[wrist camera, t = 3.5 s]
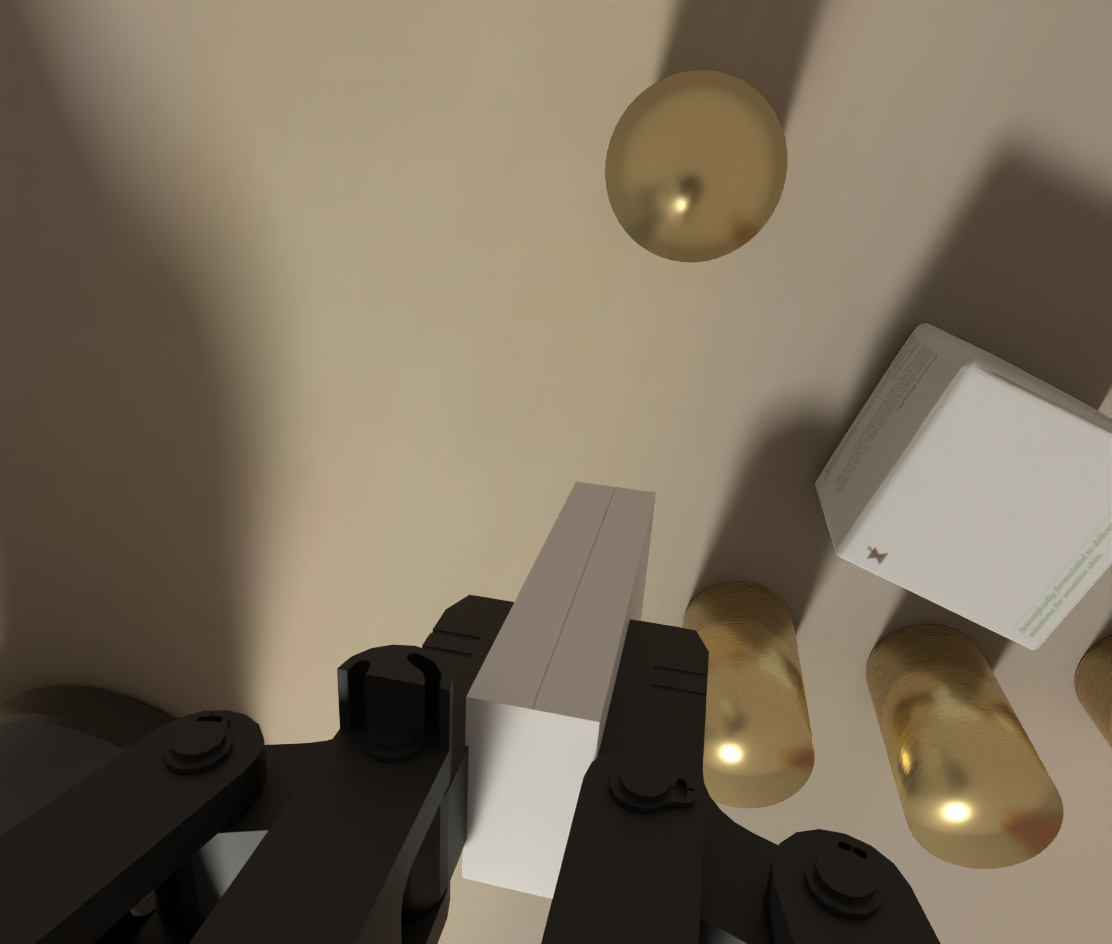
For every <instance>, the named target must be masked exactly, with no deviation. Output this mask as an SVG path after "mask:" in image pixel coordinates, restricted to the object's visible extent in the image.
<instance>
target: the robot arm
mask: <svg viewBox="0 0 1112 944" xmlns="http://www.w3.org/2000/svg"><path fill="white" fill-rule="evenodd" d="M655 495H656V493H655V492H648V491H640V490H633V489H626V488H618V487H611V486H604V485H597V484H589V483H582V482H576V483H575V485H574V487H573V489H572V491H571V492H570V494H569V496H568V498H567V500H566V502H565V504H564V506H563V508H562V510H561V512H560V514H559V516H558V518H557V520H556V522H555V524H554V526H553V528H552V530H551V532H550V534H549V536H548V538H547V540H546V541H545V543H544V545H543V547H542V549H541V551H540V553H539V555H538V557H537V559H536V561H535V563H534V565H533V567H532V569H531V571H530V573H529V575H528V577H527V579H526V581H525V583H524V585H523V587H522V588H521V590H520V592H519V594H518V596H517V598H516V600H515V602H510V601H504V600H498V599H492V598H486V597H480V596H474V595H468V596H467V597H465V598H464V599H462V600H460V601H459V602H457V603H456V604H454V605H452V606H451V607H449V608H448V609H446V610H445V612H444V613H443V615H442V616H441V618H440V619H439V621H438V622H437V624H436V625H435V627H434V628H433V632H432V633H430V634H429V636H428V638H427V639H426V641H425V642H424V644H423V645H422V648H420V647H417V646H407V645H388V646H382V647H376V648H371V649H368V650H366V651H364V652H361V653H359V654H357V655H354V656H352V657H350V658H349V659H348V660H347V661H346V662H345V663H343V664H342V665H341V666H340V667H339V668H337V675H338V695H339V714H340V729H339V731H338V732H337V734H336V735H335V737H334V738H333V739H331V740H327V741H321V742H313V743H302V744H280V745H264V738H263V735H262V732H261V729H260V726H259V724H257V723H256V722H255V721H253V720H252V719H251V718H249V717H248V716H247V715H244V714H240V713H236V712H232V711H228V710H221V711H202V712H199V713H195V714H191V715H188V716H184V717H180V718H178V719H176V720H173V719H172V718H170V717H168V716H166V715H164V714H163V713H161V712H159V711H157V710H155V709H153V708H151V707H149V706H147V705H144V704H142V703H140V702H137V701H135V700H132V699H129V698H127V697H124V696H121V695H117V694H114V693H111V692H106V691H102V690H97V689H91V688H84V687H65V686H63V687H50V688H43V689H38V690H34V691H31V692H28V693H25V694H22V695H20V696H18V697H16V698H14V699H12V700H11V701H9V702H7V703H6V704H4V705H3V706H2V707H0V944H437V943H438V941H439V938H440V936H441V933H442V930H443V928H444V925H445V922H446V920H447V916H448V909H449V903H450V880H451V877H452V875H453V872H454V870H455V867H456V865H457V862H458V860H459V857H460V855H461V852H462V850H463V861H462V878H465V879H469V880H473V881H478V882H482V883H486V884H491V885H495V886H499V887H504V888H508V889H512V890H516V891H521V892H525V893H529V894H534V895H538V896H542V897H547V898H551V899H552V903H551V907H550V911H549V915H548V919H547V923H546V927H545V931H544V935H543V939H542V943H541V944H940V942H939V940H938V938H937V936H936V934H935V932H934V930H933V929H932V927H931V925H930V923H929V921H928V919H927V917H926V915H925V913H924V911H923V909H922V907H921V905H920V903H919V902H918V900H917V898H916V896H915V894H914V892H913V890H912V888H911V886H910V885H909V883H908V882H907V881H906V879H905V878H904V877H903V875H902V874H901V873H900V871H899V870H898V868H897V867H896V866H895V864H894V863H892V862H891V861H890V860H889V859H887V858H886V857H885V856H884V855H882V854H881V853H880V852H878V851H877V850H876V849H875V848H873V847H872V846H871V845H869V844H866V843H864V842H862V841H860V840H858V839H855V838H853V837H851V836H849V835H847V834H844V833H838V832H832V831H827V830H821V829H817V830H810V831H803V832H796V833H795V834H793V835H792V836H790V837H789V838H787V839H786V840H784V841H783V842H781V843H780V844H779V845H777V844H774V843H772V842H770V841H768V840H766V839H764V838H762V837H760V836H758V835H756V834H754V833H752V832H750V831H748V830H747V829H745V828H743V827H742V826H740V825H738V824H737V823H735V822H734V821H733V820H731V819H730V818H729V817H728V816H727V815H726V814H724V813H723V812H722V811H721V810H720V809H719V807H718V806H717V805H716V803H715V802H714V801H713V800H712V798H711V797H710V795H709V793H708V790H707V788H706V786H705V784H704V776H703V757H704V738H705V719H706V700H707V699H706V696H707V681H708V679H707V677H708V662H709V651H708V650H707V648H706V646H705V645H704V643H703V641H702V639H701V638H700V636H699V634H698V633H697V631H696V630H692V629H686V628H680V627H674V626H668V625H662V624H656V623H650V622H644V621H641V614H642V605H643V597H644V588H645V580H646V571H647V563H648V554H649V546H650V538H651V529H652V521H653V512H654V504H655Z"/></svg>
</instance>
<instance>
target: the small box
mask: <svg viewBox="0 0 1112 944" xmlns="http://www.w3.org/2000/svg"><path fill="white" fill-rule="evenodd" d="M815 487H816V490H817V494H818V497H819V500H820V503H821V506H822V510H823V513H824V516H825V519H826V523H827V526H828V529H829V532H830V535H831V538H832V542H833V545H834V548H835V551H836V554H837V555H838V556H839V557H841V558H843V559H845V560H847V561H849V562H851V563H853V564H855V565H857V566H859V567H861V568H863V569H865V570H867V571H869V572H871V573H874V574H876V575H878V576H880V577H881V578H884V579H886V580H888V581H890V582H892V583H894V584H896V585H898V586H900V587H902V588H904V589H907V590H909V591H911V592H913V593H915V594H917V595H919V596H921V597H923V598H926V599H928V600H930V601H932V602H934V603H936V604H938V605H940V606H942V607H944V608H946V609H948V610H950V611H952V612H955V613H957V614H959V615H961V616H963V617H965V618H967V619H969V620H971V621H973V622H975V623H977V624H979V625H981V626H983V627H985V628H987V629H989V630H991V631H993V632H995V633H998V634H1000V635H1002V636H1004V637H1006V638H1009V639H1010V640H1012V641H1014V642H1016V643H1019V644H1021V645H1023V646H1025V647H1027V648H1028V649H1030V650H1036V649H1038V648H1039V647H1040V646H1041V645H1042V644H1043V642H1044V641H1045V640H1046V639H1047V638H1048V636H1049V635H1050V634H1051V633H1052V632H1053V631H1054V630H1055V629H1056V627H1057V626H1058V625H1059V624H1060V623H1061V622H1062V620H1063V619H1064V618H1065V617H1066V616H1067V615H1068V613H1069V612H1070V611H1071V610H1072V609H1073V608H1074V607H1075V606H1076V605H1077V603H1078V602H1079V601H1080V600H1081V599H1082V598H1083V596H1084V595H1085V594H1086V593H1087V592H1088V590H1089V589H1090V588H1091V587H1092V586H1093V585H1094V583H1095V582H1096V581H1097V580H1098V579H1099V578H1100V577H1101V576H1102V574H1103V573H1104V572H1105V571H1106V570H1107V569H1108V567H1109V566H1110V565H1111V564H1112V419H1111V418H1109V417H1107V416H1106V415H1104V414H1103V413H1101V412H1100V411H1098V410H1096V409H1094V408H1093V407H1091V406H1089V405H1087V404H1085V403H1083V402H1081V401H1080V400H1078V399H1076V398H1074V397H1072V396H1070V395H1068V394H1067V393H1065V392H1063V391H1061V390H1059V389H1057V388H1055V387H1054V386H1052V385H1050V384H1048V383H1046V382H1044V381H1042V380H1040V379H1038V378H1037V377H1035V376H1033V375H1031V374H1029V373H1027V372H1025V371H1023V370H1021V369H1019V368H1017V367H1016V366H1014V365H1012V364H1010V363H1008V362H1006V361H1004V360H1002V359H1000V358H998V357H996V356H994V355H992V354H991V353H989V352H987V351H985V350H983V349H981V348H979V347H977V346H974V345H972V344H970V343H968V342H966V341H964V340H962V339H960V338H958V337H956V336H954V335H952V334H949V333H947V332H945V331H943V330H941V329H939V328H937V327H935V326H933V325H931V324H928V323H922V324H920V325H918V326H917V327H916V328H915V329H914V331H913V332H912V334H911V335H910V337H909V338H908V339H907V341H906V342H905V344H904V345H903V347H902V348H901V350H900V351H899V353H898V354H897V356H896V357H895V359H894V360H893V362H892V363H891V365H890V366H889V368H888V370H887V371H886V373H885V374H884V376H883V377H882V379H881V380H880V382H879V384H878V385H877V387H876V388H875V390H874V391H873V393H872V394H871V396H870V397H869V399H868V401H867V402H866V404H865V405H864V407H863V408H862V410H861V411H860V413H859V414H858V416H857V417H856V419H855V421H854V422H853V424H852V425H851V427H850V428H849V430H848V431H847V433H846V434H845V436H844V438H843V439H842V441H841V442H840V444H839V445H838V447H837V448H836V450H835V452H834V453H833V455H832V456H831V458H830V459H829V461H828V463H827V464H826V466H825V467H824V469H823V471H822V472H821V474H820V475H819V477H818V479H817V480H816V482H815Z"/></svg>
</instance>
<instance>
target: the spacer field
mask: <svg viewBox="0 0 1112 944" xmlns="http://www.w3.org/2000/svg"><path fill="white" fill-rule="evenodd" d="M786 172H787V147H786V141H785V136H784V133H783V130H782V126H781V124H780V122H779V119H778V117H777V115H776V113H775V112H774V110H773V109H772V107H771V105H770V104H769V103H768V101H767V100H766V99H765V98H764V97H763V96H762V95H761V94H760V93H759V92H758V91H757V90H756V89H755V88H754V87H752V86H751V85H749V84H748V83H746V82H745V81H743V80H741V79H739V78H737V77H735V76H732V75H730V74H726V73H723V72H719V71H712V70H692V71H686V72H681V73H677V74H674V75H671V76H668V77H666V78H664V79H662V80H660V81H658V82H656V83H655V84H653V85H652V86H650V87H649V88H647V89H646V90H645V91H644V92H642V93H641V94H640V95H639V96H638V97H637V98H636V99H635V100H634V101H633V102H632V103H631V104H630V105H629V107H628V108H627V109H626V111H625V112H624V114H623V115H622V116H621V118H620V120H619V122H618V124H617V125H616V127H615V130H614V132H613V135H612V137H611V140H610V143H609V147H608V151H607V158H606V168H605V178H606V188H607V192H608V197H609V201H610V203H611V206H612V209H613V211H614V213H615V215H616V217H617V219H618V221H619V223H620V224H621V225H622V227H623V228H624V230H625V231H626V232H627V233H628V234H629V236H630V237H631V238H632V239H633V240H634V241H636V242H637V243H638V244H639V245H640V246H642V247H643V248H645V249H646V250H648V251H650V252H651V253H653V254H656V255H658V256H660V257H663V258H666V259H670V260H674V261H680V262H701V261H708V260H712V259H716V258H719V257H721V256H724V255H727V254H729V253H731V252H733V251H734V250H736V249H738V248H740V247H741V246H743V245H744V244H745V243H747V242H748V241H749V240H750V239H752V238H753V237H754V236H755V235H756V234H757V233H758V232H759V231H760V230H761V228H762V227H763V226H764V225H765V224H766V223H767V221H768V219H769V218H770V216H771V215H772V213H773V212H774V210H775V208H776V206H777V204H778V202H779V199H780V197H781V194H782V191H783V188H784V183H785V179H786ZM683 628H686V629H692V630H696V631H697V633H698V634H699V636H700V638H701V639H702V641H703V643H704V645H705V646H706V648H707V650H708V651H709V662H708V677H707V679H708V681H707V696H706V699H707V700H706V719H705V738H704V757H703V776H704V784H705V786H706V788H707V790H708V793H709V795H710V797H711V798H712V800H713V801H715V802H718V803H721V804H724V805H728V806H732V807H739V808H760V807H766V806H770V805H774V804H777V803H779V802H782V801H784V800H786V799H788V798H789V797H791V796H792V795H794V794H795V793H796V792H798V791H799V790H800V789H801V788H802V787H803V786H804V784H805V783H806V781H807V780H808V778H809V776H810V774H811V772H812V769H813V765H814V747H813V740H812V734H811V728H810V722H809V716H808V709H807V703H806V697H805V691H804V684H803V678H802V672H801V666H800V660H799V653H798V647H797V641H796V635H795V629H794V623H793V619H792V616H791V614H790V612H789V610H788V608H787V607H786V605H785V604H784V603H783V601H782V600H781V599H780V598H779V597H777V596H776V595H775V594H774V593H772V592H771V591H769V590H767V589H765V588H763V587H761V586H758V585H755V584H751V583H747V582H726V583H721V584H717V585H715V586H712V587H710V588H708V589H706V590H704V591H703V592H701V593H700V594H699V595H698V596H696V597H695V598H694V599H693V601H692V602H691V603H690V605H689V606H688V608H687V610H686V613H685V615H684V619H683ZM866 680H867V684H868V688H869V691H870V695H871V698H872V702H873V705H874V709H875V712H876V716H877V719H878V723H879V726H880V730H881V733H882V737H883V740H884V744H885V747H886V751H887V754H888V758H889V761H890V765H891V768H892V772H893V775H894V779H895V782H896V786H897V789H898V793H899V796H900V800H901V803H902V807H903V810H904V814H905V817H906V820H907V824H908V827H909V829H910V831H911V833H912V835H913V836H914V838H915V839H916V840H917V842H918V843H919V844H920V845H921V846H922V847H923V848H925V849H926V850H927V851H928V852H930V853H931V854H933V855H934V856H936V857H938V858H940V859H942V860H944V861H946V862H949V863H952V864H955V865H959V866H963V867H969V868H977V869H994V868H1002V867H1007V866H1012V865H1015V864H1018V863H1021V862H1024V861H1026V860H1028V859H1030V858H1032V857H1034V856H1036V855H1037V854H1039V853H1040V852H1042V851H1043V850H1044V849H1045V848H1047V846H1048V845H1049V844H1050V843H1051V842H1052V841H1053V840H1054V838H1055V837H1056V836H1057V834H1058V832H1059V830H1060V828H1061V824H1062V821H1063V804H1062V800H1061V797H1060V795H1059V793H1058V791H1057V789H1056V787H1055V785H1054V783H1053V781H1052V780H1051V778H1050V776H1049V774H1048V772H1047V771H1046V769H1045V767H1044V765H1043V763H1042V761H1041V760H1040V758H1039V756H1038V754H1037V752H1036V750H1035V749H1034V747H1033V745H1032V743H1031V741H1030V739H1029V738H1028V736H1027V734H1026V732H1025V730H1024V728H1023V727H1022V725H1021V723H1020V721H1019V719H1018V717H1017V716H1016V714H1015V712H1014V710H1013V708H1012V706H1011V705H1010V703H1009V701H1008V699H1007V697H1006V695H1005V694H1004V692H1003V690H1002V688H1001V686H1000V684H999V683H998V681H997V679H996V677H995V675H994V673H993V672H992V670H991V668H990V666H989V664H988V662H987V661H986V659H985V657H984V655H983V653H982V652H981V650H980V649H979V647H978V646H977V645H976V644H975V643H974V641H972V640H971V639H970V638H969V637H967V636H966V635H964V634H963V633H961V632H959V631H957V630H955V629H952V628H948V627H945V626H940V625H915V626H911V627H906V628H903V629H901V630H898V631H896V632H894V633H892V634H890V635H889V636H887V637H886V638H884V639H883V640H882V641H881V642H880V643H879V644H878V645H877V646H876V647H875V649H874V650H873V651H872V653H871V655H870V657H869V659H868V662H867V666H866ZM1074 683H1075V691H1076V695H1077V697H1078V699H1079V701H1080V703H1081V704H1082V706H1083V707H1084V709H1085V710H1086V712H1087V713H1088V715H1089V716H1090V718H1091V719H1092V721H1093V722H1094V723H1095V725H1096V726H1097V728H1098V729H1099V731H1100V732H1101V734H1102V735H1103V737H1104V738H1105V740H1106V741H1107V743H1108V744H1109V746H1110V747H1111V748H1112V636H1110V637H1108V638H1106V639H1104V640H1102V641H1101V642H1099V643H1098V644H1097V645H1095V646H1094V647H1093V648H1092V649H1091V650H1089V651H1088V653H1087V654H1086V655H1085V656H1084V657H1083V659H1082V660H1081V662H1080V664H1079V666H1078V668H1077V671H1076V674H1075V682H1074Z"/></svg>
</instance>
